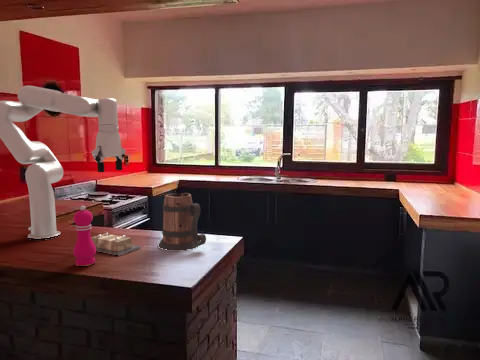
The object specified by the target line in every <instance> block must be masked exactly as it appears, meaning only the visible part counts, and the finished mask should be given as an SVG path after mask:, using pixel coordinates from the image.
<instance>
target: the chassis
mask: <svg viewBox="0 0 480 360" xmlns="http://www.w3.org/2000/svg"><path fill="white" fill-rule="evenodd" d="M104 234H105V236H108V234H109V233H108V232H105V233H104ZM101 235H102V233H101V234H97V236H98V238H101ZM121 236H122V239H125V237H126V234H123V235H121ZM115 241H118V237H115ZM138 248H140V249H141V246H140V245H135V244H132V247H130V248H127V249H124V250H121V251H113V250H108V249H103V248H98V247H96V251H100V252H106V253H111V254H115V255H121V254H124V253H127V252H130V251H132V250H135V249H138ZM138 250H139V249H138ZM135 251H136V250H135ZM132 252H133V251H132ZM130 253H131V252H130ZM127 254H128V253H127ZM124 255H125V254H124ZM121 256H122V255H121Z"/></svg>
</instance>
